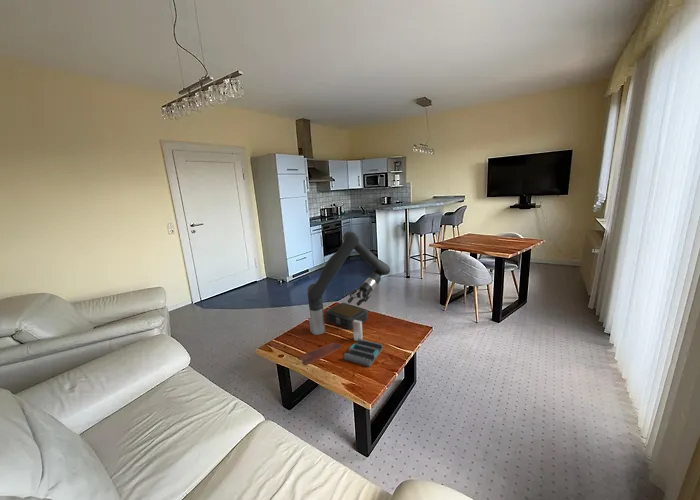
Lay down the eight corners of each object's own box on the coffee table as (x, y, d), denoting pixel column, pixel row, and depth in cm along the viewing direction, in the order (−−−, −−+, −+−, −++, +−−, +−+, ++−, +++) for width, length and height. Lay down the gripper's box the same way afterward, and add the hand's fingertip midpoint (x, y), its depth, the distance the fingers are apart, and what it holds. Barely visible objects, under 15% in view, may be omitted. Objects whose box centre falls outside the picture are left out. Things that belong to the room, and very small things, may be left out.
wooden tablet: (305, 367, 158) (305, 364, 158) (297, 358, 166) (297, 356, 166) (344, 348, 173) (344, 346, 173) (335, 341, 181) (335, 339, 181)
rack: (344, 359, 161) (344, 354, 161) (358, 343, 177) (358, 338, 176) (370, 366, 154) (369, 361, 153) (382, 349, 169) (382, 344, 168)
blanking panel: (354, 340, 181) (352, 321, 178) (355, 338, 183) (354, 319, 180) (361, 341, 178) (360, 322, 175) (362, 339, 180) (361, 321, 177)
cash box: (325, 321, 209) (324, 311, 207) (343, 310, 224) (342, 301, 222) (351, 331, 193) (350, 320, 191) (369, 319, 208) (368, 309, 206)
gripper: (358, 280, 190) (342, 297, 182) (373, 283, 179) (357, 301, 171) (363, 288, 193) (348, 305, 185) (378, 292, 182) (363, 310, 174)
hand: (352, 303), depth 178 cm, fingers open, 8 cm apart
